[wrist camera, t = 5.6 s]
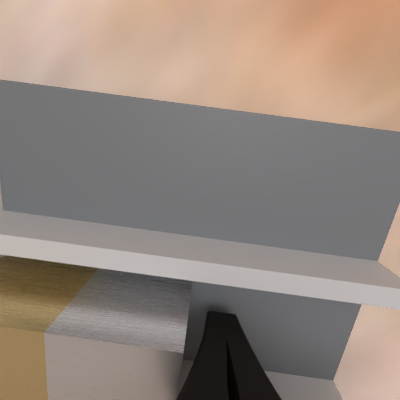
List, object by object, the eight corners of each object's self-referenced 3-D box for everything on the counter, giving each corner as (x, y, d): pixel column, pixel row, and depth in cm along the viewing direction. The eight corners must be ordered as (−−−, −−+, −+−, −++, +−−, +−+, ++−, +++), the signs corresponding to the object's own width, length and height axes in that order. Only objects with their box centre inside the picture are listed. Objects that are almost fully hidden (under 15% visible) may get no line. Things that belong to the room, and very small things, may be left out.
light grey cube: (183, 343, 11) (169, 448, 8) (104, 331, 11) (49, 430, 8) (193, 272, 10) (183, 353, 6) (105, 260, 10) (43, 332, 7)
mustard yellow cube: (104, 331, 11) (50, 430, 8) (24, 319, 12) (-70, 412, 8) (105, 260, 10) (43, 332, 7) (18, 247, 10) (-95, 312, 7)
